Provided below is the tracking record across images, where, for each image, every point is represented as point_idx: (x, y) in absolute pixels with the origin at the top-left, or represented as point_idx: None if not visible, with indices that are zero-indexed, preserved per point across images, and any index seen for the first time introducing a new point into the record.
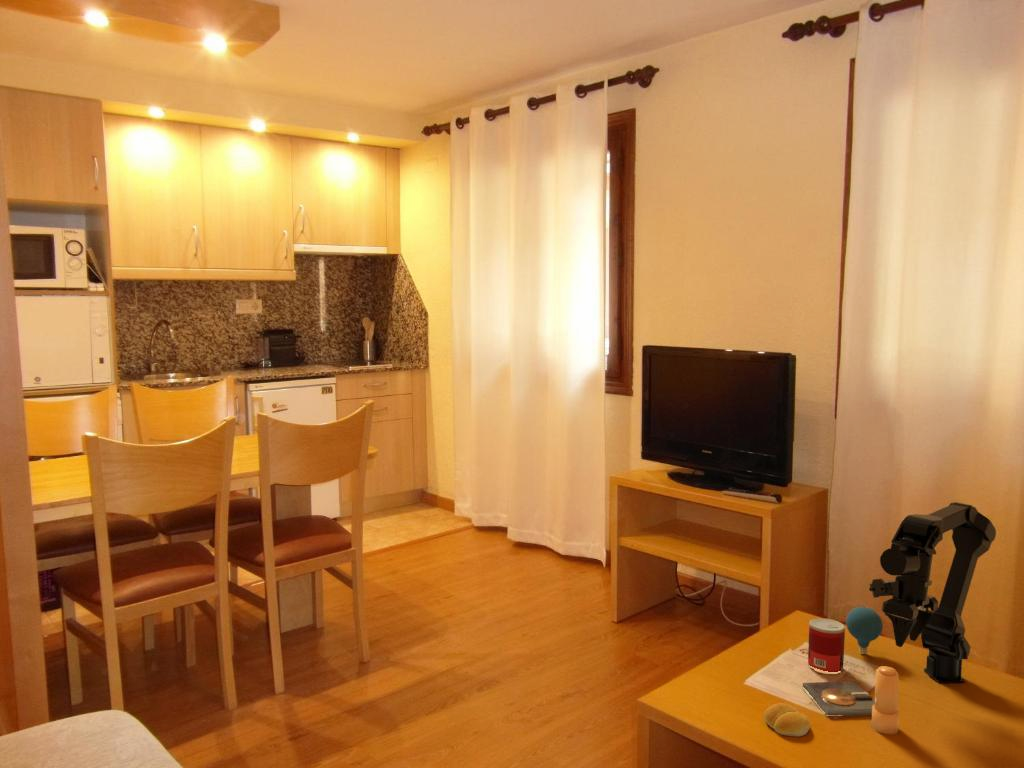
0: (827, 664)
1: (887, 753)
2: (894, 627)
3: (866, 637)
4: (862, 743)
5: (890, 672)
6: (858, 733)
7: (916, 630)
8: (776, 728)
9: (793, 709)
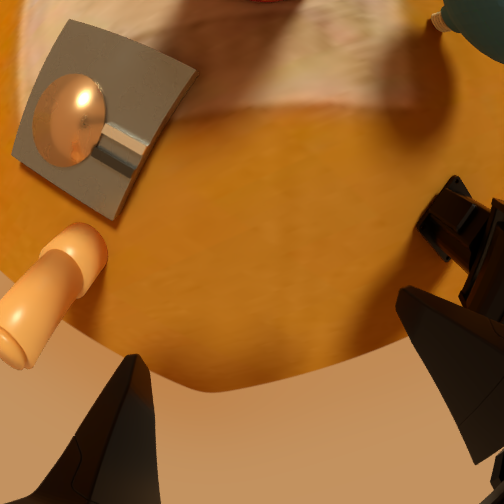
0: None
1: None
2: (64, 462)
3: (456, 20)
4: (21, 252)
5: (5, 360)
6: (31, 229)
7: (433, 351)
8: None
9: None
